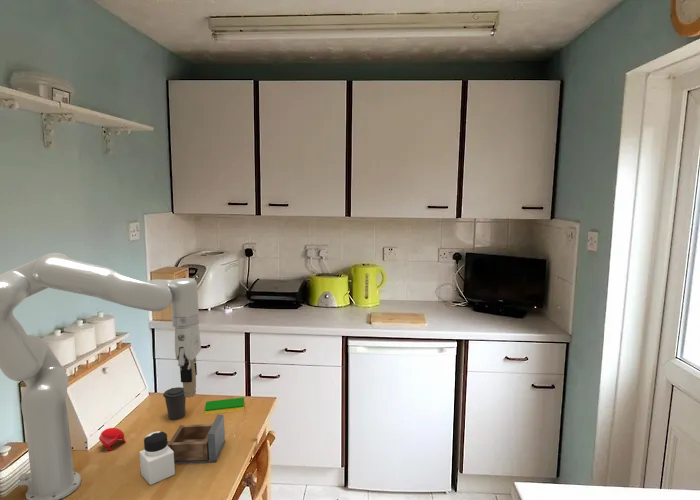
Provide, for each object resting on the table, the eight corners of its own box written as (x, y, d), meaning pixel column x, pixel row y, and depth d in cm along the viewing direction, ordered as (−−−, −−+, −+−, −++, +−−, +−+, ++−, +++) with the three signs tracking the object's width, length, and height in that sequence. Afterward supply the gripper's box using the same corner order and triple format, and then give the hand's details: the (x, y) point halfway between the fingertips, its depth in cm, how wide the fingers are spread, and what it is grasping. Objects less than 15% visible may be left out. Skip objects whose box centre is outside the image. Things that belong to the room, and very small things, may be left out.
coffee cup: (170, 410, 167) (168, 385, 166) (192, 411, 167) (190, 385, 166) (160, 422, 159) (158, 394, 158) (183, 422, 159) (181, 395, 158)
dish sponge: (244, 411, 167) (243, 405, 167) (204, 416, 164) (204, 409, 164) (244, 403, 174) (243, 397, 174) (206, 407, 171) (206, 401, 171)
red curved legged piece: (101, 446, 139) (119, 431, 141) (93, 434, 142) (111, 419, 145) (114, 456, 144) (131, 441, 147) (107, 444, 148) (123, 430, 150)
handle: (184, 401, 134) (181, 352, 132) (179, 393, 140) (177, 346, 138) (200, 397, 137) (198, 349, 135) (196, 390, 142) (193, 343, 140)
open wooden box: (168, 461, 134) (167, 444, 134) (181, 440, 146) (180, 425, 145) (207, 459, 135) (206, 443, 134) (217, 439, 146) (216, 423, 146)
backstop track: (143, 464, 134) (141, 436, 133) (158, 443, 146) (156, 416, 144) (216, 462, 135) (214, 433, 134) (225, 441, 147) (223, 414, 145)
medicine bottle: (175, 474, 129) (173, 435, 128) (150, 486, 125) (147, 445, 123) (165, 464, 135) (163, 425, 133) (140, 474, 130) (137, 435, 128)
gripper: (189, 327, 127) (193, 390, 129) (206, 312, 143) (208, 367, 146) (162, 328, 127) (166, 391, 129) (182, 312, 143) (185, 368, 145)
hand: (189, 378), depth 137 cm, fingers closed on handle, 4 cm apart
